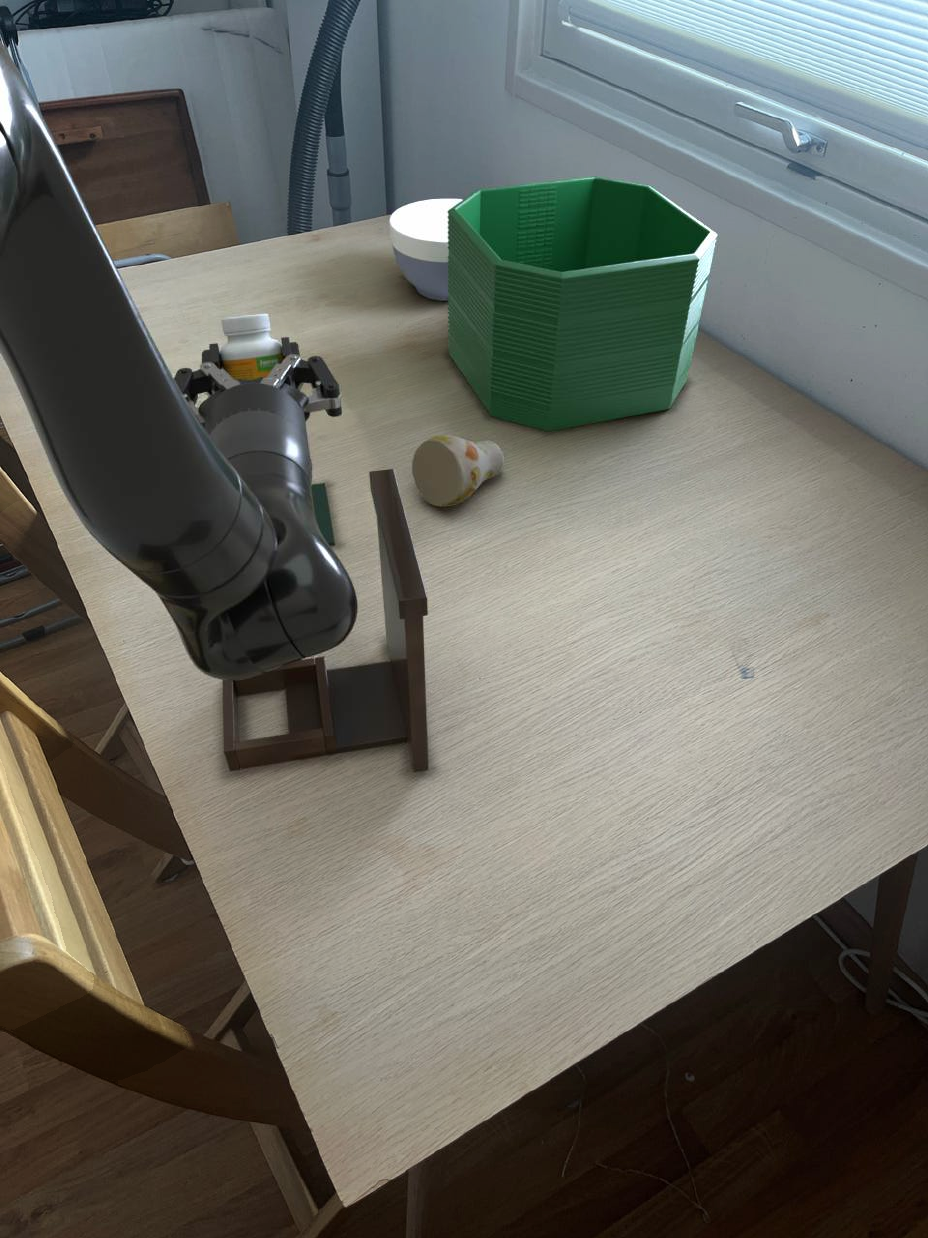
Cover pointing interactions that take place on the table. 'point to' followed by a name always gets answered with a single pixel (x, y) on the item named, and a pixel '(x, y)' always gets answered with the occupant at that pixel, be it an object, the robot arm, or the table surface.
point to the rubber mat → (322, 512)
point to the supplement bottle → (249, 347)
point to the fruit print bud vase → (454, 468)
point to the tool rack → (352, 671)
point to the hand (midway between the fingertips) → (251, 350)
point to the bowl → (423, 245)
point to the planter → (574, 299)
